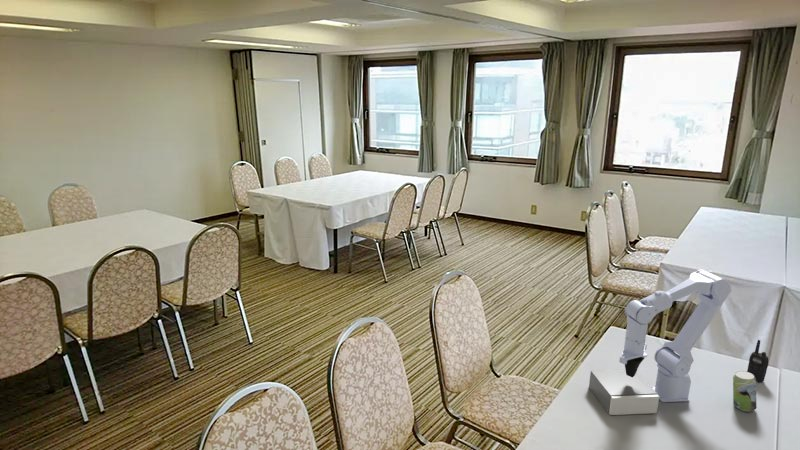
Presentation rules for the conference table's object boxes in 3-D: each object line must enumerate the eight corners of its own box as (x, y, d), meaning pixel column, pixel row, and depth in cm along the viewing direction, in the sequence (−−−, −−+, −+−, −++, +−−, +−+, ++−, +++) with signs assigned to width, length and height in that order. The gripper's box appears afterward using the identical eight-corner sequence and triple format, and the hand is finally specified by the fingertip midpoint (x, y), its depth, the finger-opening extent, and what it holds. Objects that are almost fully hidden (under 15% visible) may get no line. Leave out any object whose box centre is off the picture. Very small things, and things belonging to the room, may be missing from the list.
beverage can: (759, 415, 150) (766, 381, 147) (733, 412, 151) (740, 378, 148) (749, 402, 156) (756, 370, 153) (724, 400, 157) (730, 367, 154)
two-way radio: (743, 376, 170) (751, 339, 166) (750, 373, 172) (758, 335, 168) (761, 384, 166) (770, 345, 162) (767, 380, 168) (776, 342, 164)
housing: (631, 385, 165) (633, 368, 164) (654, 411, 152) (657, 393, 150) (588, 387, 165) (590, 370, 163) (608, 413, 151) (610, 395, 149)
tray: (633, 387, 164) (636, 372, 162) (656, 413, 151) (659, 396, 149) (591, 389, 163) (592, 373, 161) (610, 415, 150) (612, 398, 148)
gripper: (637, 350, 144) (632, 389, 148) (658, 335, 153) (652, 372, 157) (614, 341, 150) (610, 379, 153) (636, 327, 158) (631, 363, 162)
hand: (630, 375), depth 155 cm, fingers closed
